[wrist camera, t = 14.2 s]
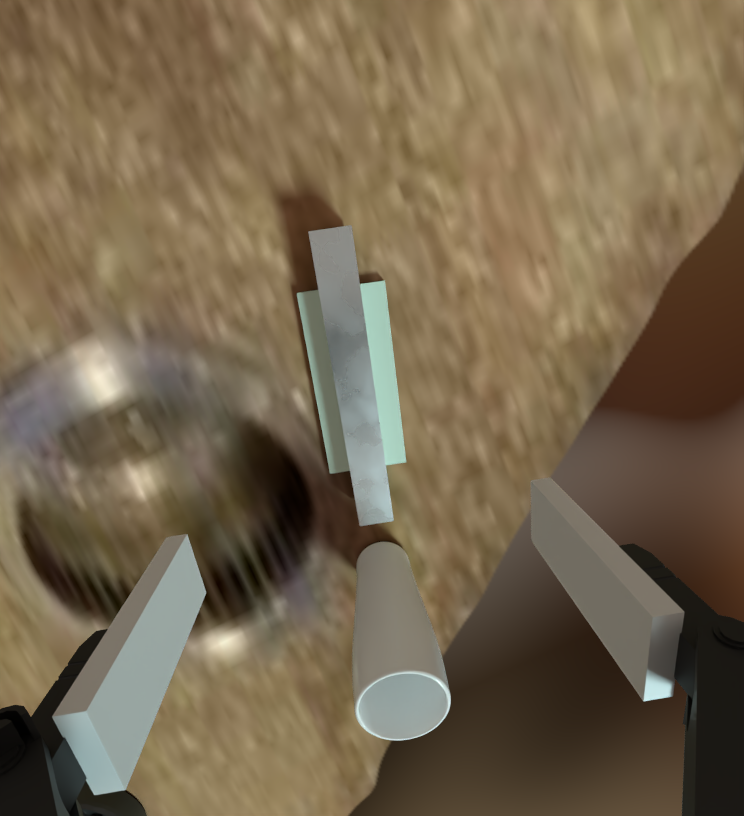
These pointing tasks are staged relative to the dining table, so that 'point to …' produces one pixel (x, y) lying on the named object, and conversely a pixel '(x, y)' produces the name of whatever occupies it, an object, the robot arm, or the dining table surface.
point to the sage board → (381, 370)
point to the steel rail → (352, 370)
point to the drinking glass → (394, 650)
